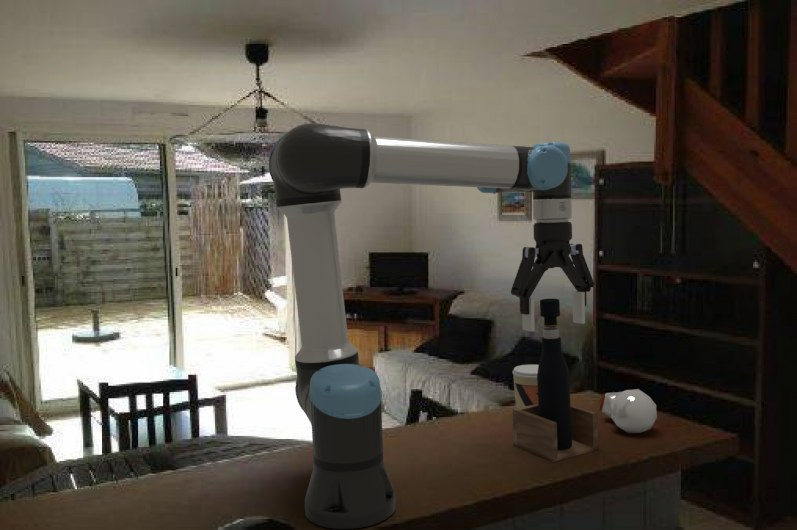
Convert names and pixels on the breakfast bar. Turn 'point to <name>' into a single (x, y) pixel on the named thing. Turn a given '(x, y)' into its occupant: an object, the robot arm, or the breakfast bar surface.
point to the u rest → (554, 433)
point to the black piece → (554, 376)
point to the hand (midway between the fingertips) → (554, 326)
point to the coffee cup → (525, 385)
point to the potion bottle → (630, 410)
